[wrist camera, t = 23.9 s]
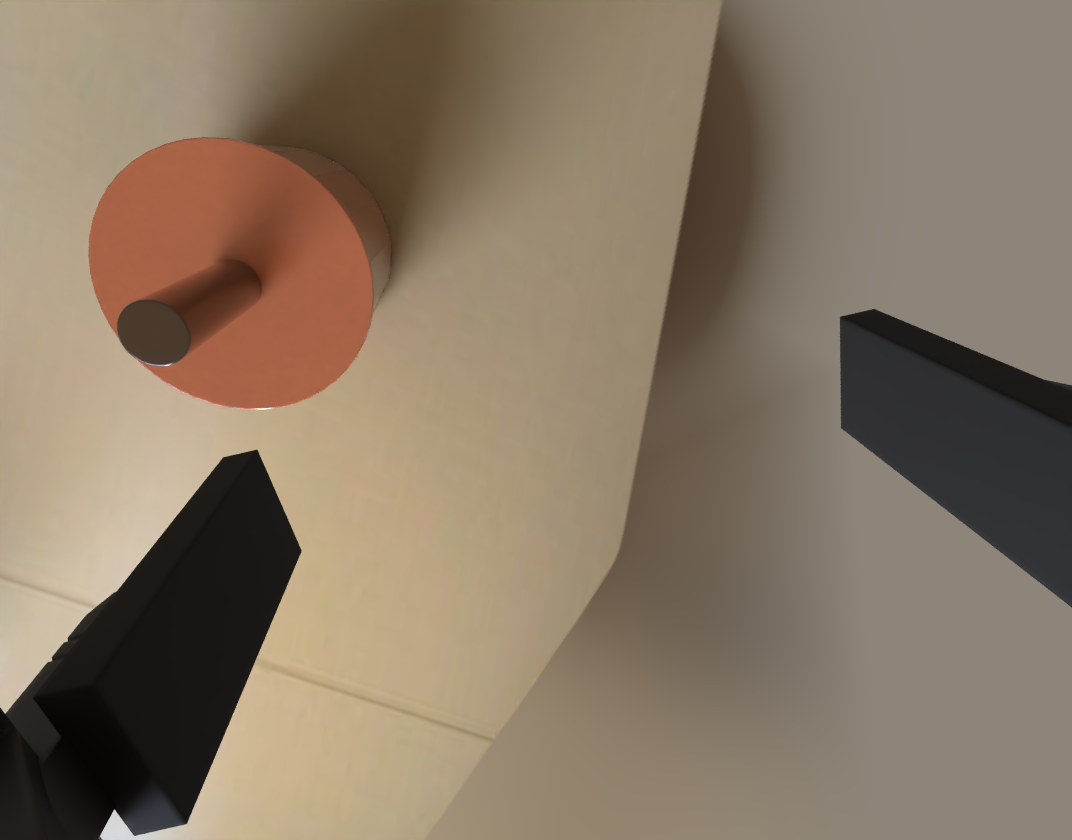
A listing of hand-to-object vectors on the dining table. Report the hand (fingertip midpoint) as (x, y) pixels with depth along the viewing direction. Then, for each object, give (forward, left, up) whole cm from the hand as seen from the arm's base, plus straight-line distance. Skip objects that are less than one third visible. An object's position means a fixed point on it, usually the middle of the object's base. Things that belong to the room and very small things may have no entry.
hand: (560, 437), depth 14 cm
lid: (+12, +7, -21) cm, 25 cm away
